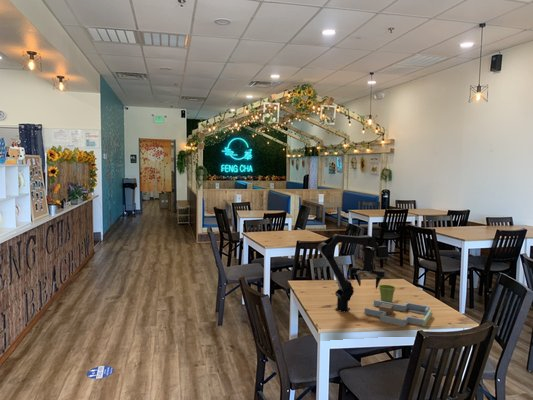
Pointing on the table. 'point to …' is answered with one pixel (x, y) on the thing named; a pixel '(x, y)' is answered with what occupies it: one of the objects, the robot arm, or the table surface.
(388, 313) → the block
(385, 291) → the plant pot
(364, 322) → the table surface
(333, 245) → the robot arm
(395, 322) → the grey zigzag track
